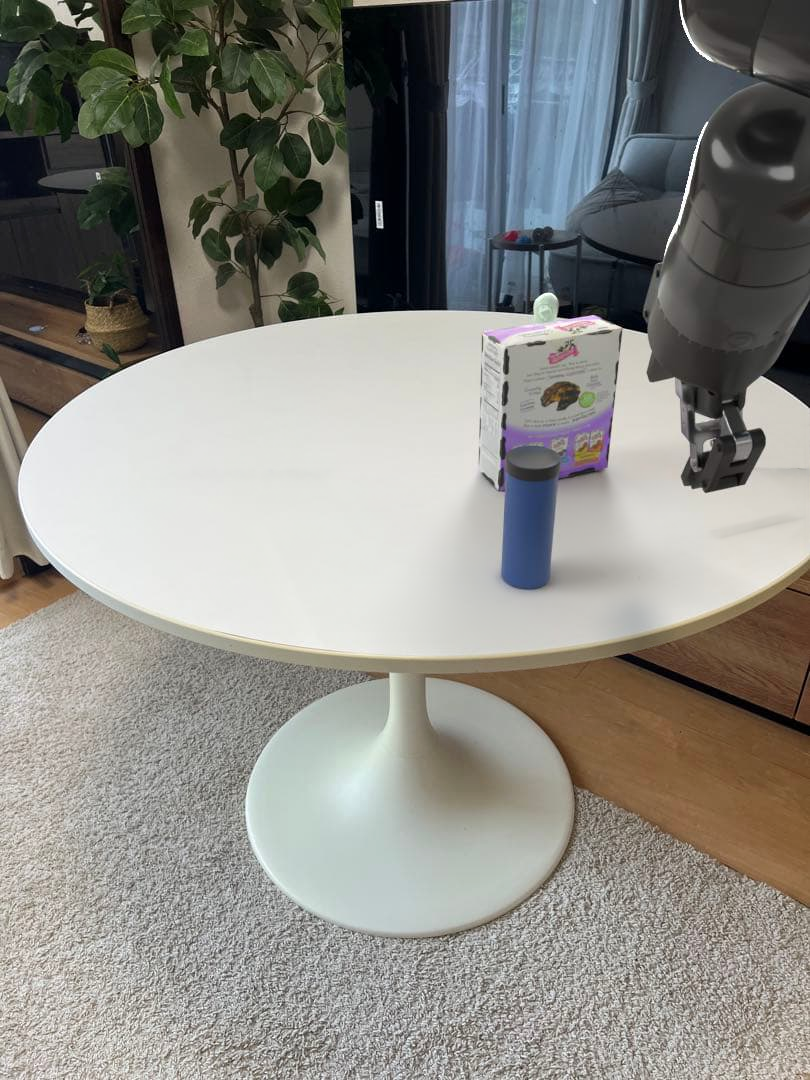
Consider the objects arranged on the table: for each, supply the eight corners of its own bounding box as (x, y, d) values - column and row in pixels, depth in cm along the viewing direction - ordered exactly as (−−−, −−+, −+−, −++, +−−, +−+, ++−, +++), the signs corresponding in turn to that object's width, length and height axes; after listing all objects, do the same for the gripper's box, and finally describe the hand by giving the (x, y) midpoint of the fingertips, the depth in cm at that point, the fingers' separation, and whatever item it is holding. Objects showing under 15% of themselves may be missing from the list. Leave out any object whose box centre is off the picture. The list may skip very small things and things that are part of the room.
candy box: (581, 450, 94) (595, 312, 86) (608, 470, 90) (626, 327, 81) (476, 470, 90) (479, 328, 82) (498, 492, 86) (505, 344, 77)
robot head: (530, 326, 137) (532, 287, 134) (553, 326, 137) (556, 286, 133) (534, 340, 130) (536, 299, 127) (559, 340, 130) (562, 299, 126)
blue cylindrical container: (535, 557, 75) (543, 441, 68) (560, 583, 71) (571, 462, 65) (491, 568, 73) (495, 450, 67) (514, 594, 70) (521, 473, 63)
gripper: (855, 384, 39) (764, 504, 54) (759, 165, 44) (700, 331, 59) (701, 419, 39) (654, 528, 54) (624, 198, 44) (601, 355, 59)
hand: (678, 426), depth 57 cm, fingers open, 8 cm apart
